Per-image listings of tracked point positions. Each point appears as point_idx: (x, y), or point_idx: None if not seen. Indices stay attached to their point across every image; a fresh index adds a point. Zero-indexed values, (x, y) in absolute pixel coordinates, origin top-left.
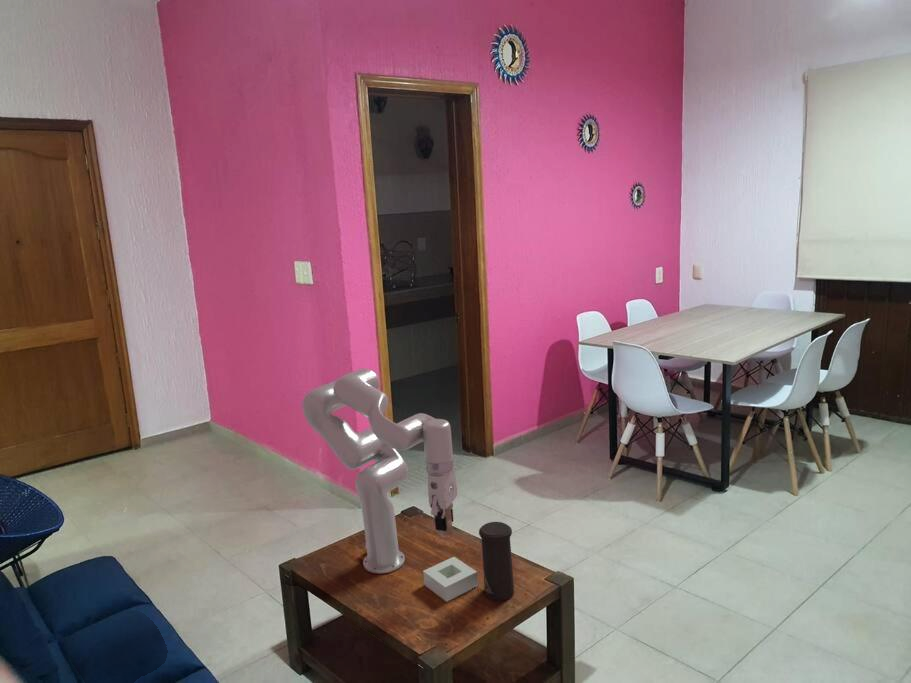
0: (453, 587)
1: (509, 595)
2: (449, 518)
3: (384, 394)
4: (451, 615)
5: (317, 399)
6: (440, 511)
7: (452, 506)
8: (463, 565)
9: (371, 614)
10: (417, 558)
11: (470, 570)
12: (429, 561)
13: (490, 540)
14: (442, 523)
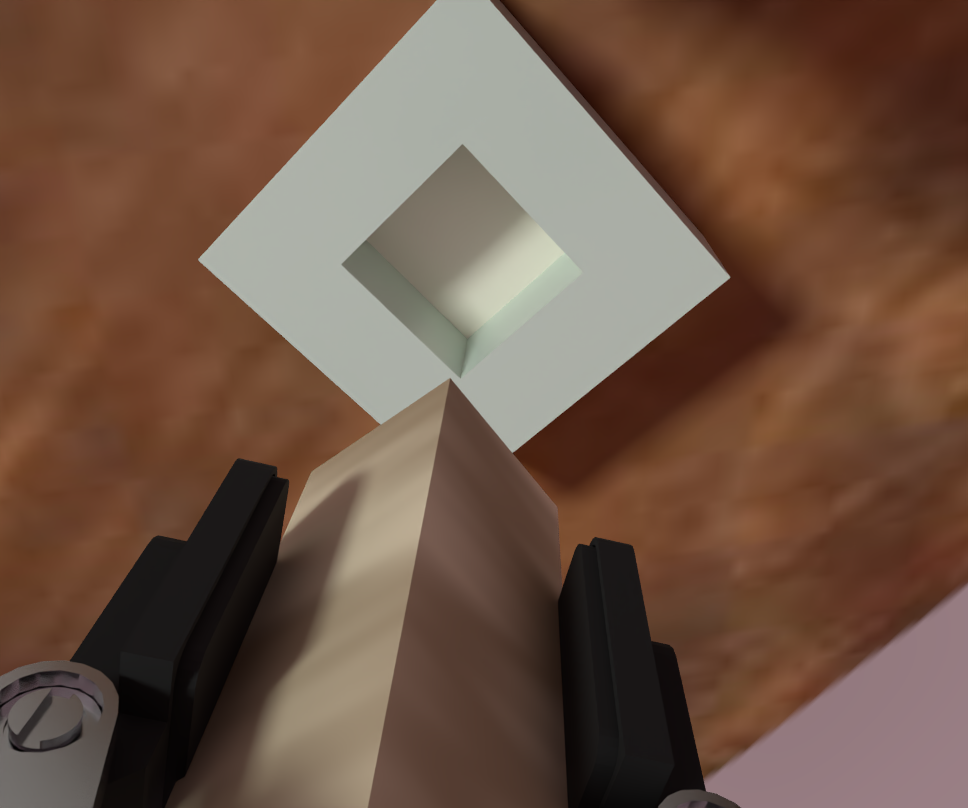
0: (666, 200)
1: None
2: (448, 609)
3: None
4: (893, 171)
5: None
6: None
7: (31, 678)
8: (350, 142)
9: (790, 685)
10: (124, 525)
11: (440, 52)
12: (148, 439)
13: None
14: (667, 715)
